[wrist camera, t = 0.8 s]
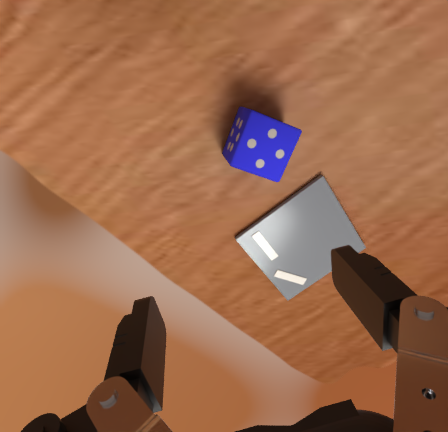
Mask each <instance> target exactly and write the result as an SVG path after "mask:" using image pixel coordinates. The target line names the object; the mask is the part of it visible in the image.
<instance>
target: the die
mask: <svg viewBox="0 0 448 432" xmlns="http://www.w3.org/2000/svg"><path fill="white" fill-rule="evenodd" d="M301 133H302V131H301V130H300V129H298V128H295V127H293V126H290V125H288V124H286V123H283V122H281V121H278V120H276V119H273V118H271V117H269V116H266V115H264V114H261V113H259V112H256V111H254V110H251V109H248V108H245V107H239V109H238V112H237V114H236V117H235V120H234V122H233V125H232V128H231V130H230V133H229V136H228V139H227V141H226V144H225V147H224V149H223V152H222V154H223V156H224V157H225V159H226V160H227V161H228V163H229V164H230V166H232V167H235V168H238V169H240V170H243V171H246V172H249V173H252V174H255V175H258V176H261V177H264V178H267V179H269V180H272V181H275V182H279V181H280V179H281V177H282V175H283V172H284V170H285V168H286V166H287V163H288V161H289V159H290V157H291V155H292V152H293V150H294V148H295V146H296V144H297V141H298V139H299V137H300V135H301Z"/></svg>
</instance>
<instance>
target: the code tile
mask: <svg viewBox="0 0 448 432" xmlns="http://www.w3.org/2000/svg"><path fill="white" fill-rule="evenodd" d="M235 239H236V241H237V242H238V243H239V244H240V245H241V246H242V248H243V249H244V250H245V251H246V252H247V253H248V255H249V256H250V257H251V258H252V259H253V260H254V262H255V263H256V264H257V265H258V266H259V268H260V269H261V270H262V271H263V272H264V273H265V275H266V276H267V277H268V278H269V279H270V280H271V282H272V283H273V284H274V285H275V286H276V287H277V289H278V290H279V291H280V292H281V293H282V294H283V296H284V297H285V298H286V299H287V300H290V299H291V298H292V297H294V296H295V295H297V294H298V293H300V292H301V291H303V290H304V289H306V288H307V287H309V286H310V285H312V284H313V283H315V282H316V281H318V280H319V279H321V278H322V277H323V276H325V275H326V274H328V273H329V272H331V271H332V265H331V250H332V249H334V248H338V247H342V246H346V245H350V246H351V247H352V248H353V249H354V250H355V251H356V252H358V253H359V252H360V251H362V250H363V249H365V248H366V247H365V245H364V244H363V242H362V240H361V239H360V237H359V235H358V234H357V232H356V230H355V229H354V227H353V225H352V224H351V222H350V220H349V219H348V217H347V215H346V213H345V212H344V210H343V208H342V207H341V205H340V203H339V202H338V200H337V198H336V197H335V195H334V193H333V192H332V190H331V188H330V187H329V185H328V183H327V182H326V180H325V178H324V177H323V176H322V175H320V176H318V177H317V178H316V179H314V180H313V181H311V182H310V183H309V184H307V185H306V186H305V187H303V188H302V189H300V190H299V191H298V192H296V193H295V194H294V195H292V196H291V197H289V198H288V199H287V200H285V201H284V202H283V203H281V204H280V205H279V206H277V207H276V208H274V209H273V210H272V211H270V212H269V213H268V214H266V215H265V216H263V217H262V218H261V219H259V220H258V221H257V222H255V223H254V224H252V225H251V226H250V227H248V228H247V229H246V230H244V231H243V232H242V233H240V234H239V235H237V236H236V237H235Z"/></svg>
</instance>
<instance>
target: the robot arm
mask: <svg viewBox="0 0 448 432" xmlns="http://www.w3.org/2000/svg"><path fill="white" fill-rule="evenodd" d="M331 265H332V278H333V282H334V285H335V287H336V289H337V291H338V292H339V294H340V295H341V296H342V298H343V299H344V300H345V302H346V303H347V304H348V306H349V307H350V308H351V310H352V311H353V312H354V314H355V315H356V316H357V317H358V319H359V320H360V321H361V323H362V324H363V325H364V327H365V328H366V329H367V331H368V332H369V333H370V335H371V336H372V337H373V339H374V340H375V341H376V343H377V344H378V345H379V347H380V348H381V349H382V351H383V350H387V349H391V348H393V349H394V350H395V351H396V352H397V368H396V386H395V402H394V419H391V418H389V417H387V416H384V415H381V414H379V413H375V412H372V411H366V410H356V408H355V406H354V404H353V403H352V401H351V399H350V400H346V401H343V402H339V403H335V404H332V405H328V406H325V407H321V408H319V409H318V410H316V411H314V412H313V413H311V414H310V415H308V416H307V417H305V418H303V419H302V420H300V421H299V422H297V423H296V424H294V425H291V426H267V425H266V426H265V425H260V426H259V425H257V426H253V427H250V428H247V429H243V430H240V431H235V432H448V307H445V306H444V305H443V304H442V303H440V302H439V301H437V300H435V299H432V298H429V297H425V296H418V295H417V294H415V293H414V292H413V291H412V290H411V289H410V288H409V287H408V286H407V285H405V284H404V283H403V282H402V281H401V280H400V279H399V278H398V277H397V276H395V275H394V274H393V273H391V271H390V270H389V269H388V268H387V267H385V266H384V265H383V264H382V263H381V262H380V261H379V260H378V259H377V258H375V257H373V256H370V255H368V254H366V253H361V254H359V253H358V252H356V251H355V250H354V249H353V248H352V247H351V246H350V245H346V246H342V247H338V248H334V249H332V250H331ZM165 349H166V328H165V324H164V321H163V318H162V316H161V314H160V312H159V309H158V306H157V304H156V301H155V299H154V297H152V296H150V297H146V298H142V299H139V300H135V301H134V305H133V310H132V314H129V315H125V316H124V317H123V319H122V320H121V322H120V323H119V325H118V327H117V331H116V334H115V339H114V342H113V348H112V350H111V354H110V358H109V362H108V366H107V370H106V374H105V378H104V381H103V382H102V383H100V384H99V385H98V386H97V387H96V388H95V389H94V390H93V391H92V393H91V395H90V396H89V398H88V401H87V404H86V405H84V406H83V407H81V408H79V409H78V410H76V411H74V412H72V413H71V414H69V415H67V416H65V417H64V418H62V419H60V418H59V417H58V416H57V415H56V414H52V413H47V414H43V415H41V416H39V417H37V418H35V419H34V420H33V421H31V422H30V423H29V424H28V425H26V426H25V427H24V428H23V430H22V431H21V432H172V431H171V429H170V428H169V427H168V426H167V425H166V424H165V422H164V421H163V420H162V419H161V418H160V416H158V415H155V414H154V413H155V412H158V411H162V405H163V387H164V368H165Z"/></svg>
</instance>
